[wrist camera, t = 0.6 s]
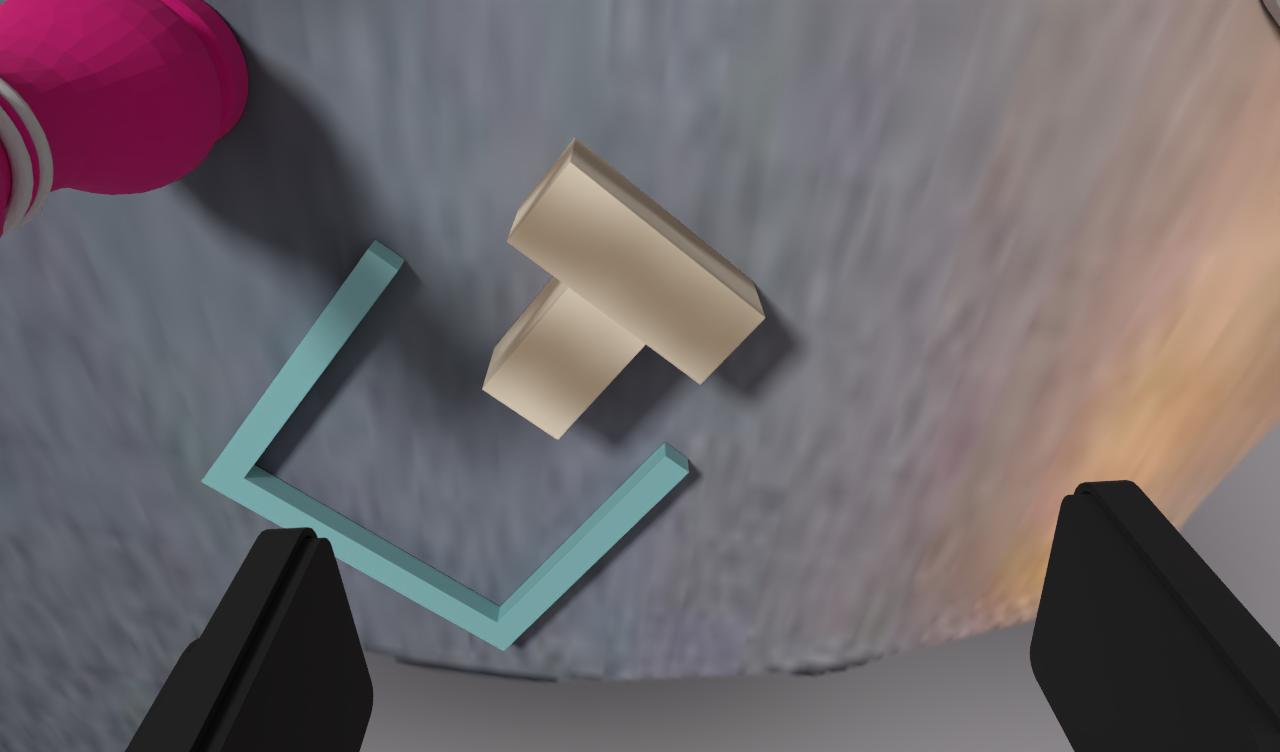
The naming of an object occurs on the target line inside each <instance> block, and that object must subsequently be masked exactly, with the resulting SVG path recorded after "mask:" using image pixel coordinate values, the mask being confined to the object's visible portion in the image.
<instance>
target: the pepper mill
mask: <svg viewBox="0 0 1280 752" xmlns="http://www.w3.org/2000/svg"><path fill="white" fill-rule="evenodd" d="M247 97H248V73H247V67H246V63H245V59H244V56H243V53H242V51H241V48H240V46H239V44H238V42H237V40H236V38H235V36H234V35H233V33H232V31H231V30H230V28H229V27H228V25H227V24H226V23H225V22H224V21H223V19H222V18H221V17H220V16H219V15H218V14H217V13H216V12H215V11H214V10H213V9H212V8H211V7H210V6H209V5H207V4H206V3H205V2H204V1H202V0H7V1H6V2H5V3H3V4H2V5H1V6H0V238H1V237H2V236H4V235H5V234H7V233H9V232H10V231H11V230H14V229H17V228H19V227H21V226H23V225H24V224H26V223H27V222H29V221H30V220H32V219H33V218H34V217H35V216H36V215H37V214H38V213H39V212H40V210H41V209H42V208H43V206H44V205H45V203H46V201H47V199H48V197H49V193H50V192H51V191H54V190H57V189H60V188H72V189H76V190H81V191H86V192H91V193H98V194H110V195H116V194H133V193H143V192H147V191H150V190H154V189H157V188H161V187H163V186H165V185H168V184H170V183H172V182H174V181H177V180H179V179H181V178H182V177H184V176H185V175H187V174H188V173H190V172H191V171H193V170H194V169H195V168H196V167H197V166H198V165H199V164H200V163H201V162H202V161H203V160H204V158H205V157H206V156H207V155H208V154H209V152H210V150H211V148H212V146H213V145H214V143H215V141H217V140H219V139H220V138H222V137H223V136H224V135H226V134H227V133H228V132H230V131H231V129H232V128H233V127H234V126H235V125H236V124H237V122H238V121H239V119H240V117H241V116H242V113H243V111H244V109H245V105H246V101H247Z"/></svg>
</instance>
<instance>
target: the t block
mask: <svg viewBox="0 0 1280 752" xmlns="http://www.w3.org/2000/svg"><path fill="white" fill-rule="evenodd" d="M507 242H508V243H510V244H511V245H512V246H514V247H515V248H516V249H518V250H519V251H520V252H522V253H523V254H524V255H526V256H527V257H528V258H530V259H531V260H533V261H534V262H535V263H537V264H538V265H539V266H541V267H542V268H543V269H545V270H546V271H547V272H549V273H550V274H551V275H553V276H554V277H553V278H552V279H551V280H550V281H549V283H548V284H547V285H546V286H545V287H544V289H543V290H542V291H541V292H540V293H539V295H538V296H537V297H536V298H535V299H534V301H533V302H532V303H531V304H530V305H529V307H528V308H527V309H526V310H525V311H524V313H523V314H522V315H521V316H520V317H519V319H518V320H517V321H516V322H515V323H514V324H513V326H512V327H511V328H510V329H509V330H508V332H507V333H506V334H505V335H504V336H503V338H502V339H501V340H500V341H499V342H498V344H497V345H496V346H495V347H494V351H493V354H492V358H491V361H490V364H489V368H488V371H487V374H486V378H485V381H484V385H483V388H482V390H484V391H485V392H487V393H488V394H490V395H491V396H493V397H494V398H496V399H497V400H499V401H500V402H502V403H503V404H505V405H506V406H508V407H509V408H511V409H512V410H514V411H515V412H517V413H518V414H520V415H521V416H523V417H524V418H526V419H527V420H529V421H530V422H532V423H533V424H535V425H536V426H538V427H539V428H541V429H542V430H544V431H545V432H547V433H548V434H550V435H551V436H553V437H554V438H556V439H557V440H558V439H559V438H560V437H561V436H562V435H563V434H564V433H565V432H566V430H567V429H568V428H569V427H570V426H571V425H572V424H573V423H574V422H575V421H576V420H577V419H578V417H579V416H580V415H581V414H582V413H583V412H584V411H585V410H586V409H587V408H588V407H589V406H590V404H591V403H592V402H593V401H594V400H595V399H596V398H597V397H598V396H599V395H600V394H601V393H602V391H603V390H604V389H605V388H606V387H607V386H608V385H609V384H610V383H611V382H612V381H613V379H614V378H615V377H616V376H617V375H618V374H619V373H620V372H621V371H622V370H623V369H624V368H625V366H626V365H627V364H628V363H629V362H630V361H631V360H632V359H633V358H634V357H635V356H636V355H637V353H638V352H639V351H640V350H641V349H642V348H643V347H644V346H645V345H647V346H649V347H650V348H651V349H653V350H654V351H656V352H657V353H658V354H660V355H661V356H662V357H664V358H665V359H666V360H668V361H669V362H670V363H672V364H673V365H674V366H676V367H677V368H678V369H680V370H681V371H683V372H684V373H685V374H687V375H688V376H689V377H691V378H692V379H693V380H695V381H696V382H697V383H699V384H701V383H702V382H703V381H704V380H705V379H706V378H707V377H708V376H709V375H710V374H711V373H712V372H713V371H714V370H715V369H716V368H717V367H718V366H719V365H720V364H721V363H722V362H723V361H724V360H725V359H726V358H727V357H728V356H729V355H730V354H731V353H732V352H733V351H734V350H735V349H736V348H737V347H738V346H739V345H740V344H741V343H742V342H743V340H744V339H745V338H746V337H747V336H748V335H749V334H750V333H751V332H752V331H753V330H754V329H755V328H756V327H757V326H758V325H759V324H760V323H761V322H762V321H763V320H764V319H765V315H764V312H763V309H762V306H761V303H760V300H759V297H758V294H757V291H756V288H755V286H754V283H753V281H752V280H751V279H750V278H749V277H747V276H746V275H745V274H744V273H742V272H741V271H740V270H739V269H737V268H736V267H735V266H734V265H733V264H731V263H730V262H729V261H728V260H726V259H725V258H724V257H723V256H721V255H720V254H719V253H718V252H716V251H715V250H714V249H713V248H712V247H710V246H709V245H708V244H707V243H705V242H704V241H703V240H702V239H700V238H699V237H698V236H697V235H696V234H694V233H693V232H692V231H691V230H689V229H688V228H687V227H686V226H684V225H683V224H682V223H681V222H679V221H678V220H677V219H676V218H675V217H673V216H672V215H671V214H670V213H668V212H667V211H666V210H665V209H663V208H662V207H661V206H660V205H659V204H657V203H656V202H655V201H654V200H652V199H651V198H650V197H649V196H647V195H646V194H645V193H644V192H642V191H641V190H640V189H639V188H638V187H636V186H635V185H634V184H633V183H631V182H630V181H629V180H628V179H626V178H625V177H624V176H623V175H622V174H620V173H619V172H618V171H617V170H615V169H614V168H613V167H612V166H610V165H609V164H608V163H607V162H605V161H604V160H603V159H602V158H601V157H599V156H598V155H597V154H596V153H594V152H593V151H592V150H591V149H589V148H588V147H587V146H586V145H585V144H583V143H582V142H581V141H580V140H578V139H577V138H576V137H575V138H574V140H573V141H572V142H571V143H570V145H569V146H568V147H567V148H566V150H565V151H564V152H563V153H562V155H561V156H560V157H559V159H558V160H557V161H556V162H555V164H554V165H553V166H552V167H551V169H550V170H549V171H548V173H547V174H546V175H545V176H544V178H543V179H542V180H541V181H540V183H539V184H538V185H537V187H536V188H535V189H534V190H533V192H532V193H531V194H530V195H529V197H528V198H527V199H526V201H525V202H524V203H523V204H522V206H521V207H520V208H519V209H518V212H517V215H516V217H515V220H514V223H513V226H512V229H511V232H510V234H509V237H508V240H507Z"/></svg>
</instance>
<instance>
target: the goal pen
mask: <svg viewBox="0 0 1280 752" xmlns="http://www.w3.org/2000/svg"><path fill="white" fill-rule="evenodd" d="M404 261H405V260H404V259H402V258H401V257H400V256H398V255H397V254H395V253H394V252H392V251H391V250H390V249H388V248H387V247H385V246H384V245H382V244H381V243H380V242H378V241H377V240H374V242H373V243H372V244H371V246H370V247H369V248H368V250H367V251H366V253H365V254H364V255H363V257H362V258H361V260H360V261H359V262H358V264H357V265H356V266H355V268H354V269H353V271H352V272H351V273H350V275H349V276H348V278H347V279H346V280H345V282H344V283H343V285H342V286H341V287H340V289H339V290H338V292H337V293H336V294H335V296H334V297H333V299H332V300H331V301H330V303H329V304H328V306H327V307H326V308H325V310H324V311H323V312H322V314H321V315H320V317H319V318H318V319H317V321H316V322H315V324H314V325H313V326H312V328H311V329H310V331H309V332H308V333H307V335H306V336H305V338H304V339H303V340H302V342H301V343H300V345H299V346H298V347H297V349H296V350H295V352H294V353H293V354H292V356H291V357H290V358H289V360H288V361H287V363H286V364H285V365H284V367H283V368H282V370H281V371H280V372H279V374H278V375H277V377H276V378H275V379H274V381H273V382H272V384H271V385H270V386H269V388H268V389H267V391H266V392H265V393H264V395H263V396H262V398H261V399H260V400H259V402H258V403H257V404H256V406H255V407H254V409H253V410H252V411H251V413H250V414H249V416H248V417H247V418H246V420H245V421H244V423H243V424H242V425H241V427H240V428H239V430H238V431H237V432H236V434H235V435H234V437H233V438H232V439H231V441H230V442H229V444H228V445H227V446H226V448H225V449H224V450H223V452H222V453H221V455H220V456H219V457H218V459H217V460H216V462H215V463H214V464H213V466H212V467H211V469H210V470H209V471H208V473H207V474H206V476H205V477H204V478H203V480H202V481H201V482H202V483H204V484H206V485H208V486H210V487H211V488H213V489H215V490H217V491H219V492H220V493H222V494H224V495H226V496H227V497H229V498H231V499H233V500H235V501H236V502H238V503H240V504H242V505H244V506H245V507H247V508H249V509H251V510H252V511H254V512H256V513H258V514H260V515H261V516H263V517H265V518H267V519H269V520H270V521H272V522H274V523H276V524H277V525H279V526H281V527H283V528H301V527H309V528H312V529H313V530H314V531H315V532H316V535H317V537H318V538H327V539H328V540H329V541H330V543H331V545H332V548H333V552H334V555H335V557H336V558H338V559H340V560H342V561H344V562H345V563H347V564H349V565H351V566H353V567H354V568H356V569H358V570H360V571H362V572H363V573H365V574H367V575H369V576H370V577H372V578H374V579H376V580H378V581H379V582H381V583H383V584H385V585H387V586H388V587H390V588H392V589H394V590H395V591H397V592H399V593H401V594H403V595H404V596H406V597H408V598H410V599H412V600H413V601H415V602H417V603H419V604H421V605H422V606H424V607H426V608H428V609H429V610H431V611H433V612H435V613H437V614H438V615H440V616H442V617H444V618H446V619H447V620H449V621H451V622H453V623H454V624H456V625H458V626H460V627H462V628H463V629H465V630H467V631H469V632H471V633H472V634H474V635H476V636H478V637H479V638H481V639H483V640H485V641H487V642H488V643H490V644H492V645H494V646H496V647H497V648H499V649H501V650H503V651H504V650H505V649H506V648H507V647H508V646H510V645H511V644H512V643H513V642H514V641H515V640H516V639H517V638H518V637H519V636H520V635H521V634H522V633H523V632H524V631H525V630H526V629H527V628H528V627H529V626H530V625H531V624H532V623H533V622H534V621H535V620H536V619H538V618H539V617H540V616H541V615H542V614H543V613H544V612H545V611H546V610H547V609H548V608H549V607H550V606H551V605H552V604H553V603H554V602H555V601H556V600H557V599H558V598H559V597H560V596H561V595H562V594H563V593H564V592H566V591H567V590H568V589H569V588H570V587H571V586H572V585H573V584H574V583H575V582H576V581H577V580H578V579H579V578H580V577H581V576H582V575H583V574H584V573H585V572H586V571H587V570H588V569H589V568H590V567H591V566H592V565H593V564H595V563H596V562H597V561H598V560H599V559H600V558H601V557H602V556H603V555H604V554H605V553H606V552H607V551H608V550H609V549H610V548H611V547H612V546H613V545H614V544H615V543H616V542H617V541H618V540H619V539H620V538H621V537H623V536H624V535H625V534H626V533H627V532H628V531H629V530H630V529H631V528H632V527H633V526H634V525H635V524H636V523H637V522H638V521H639V520H640V519H641V518H642V517H643V516H644V515H645V514H646V513H647V512H648V511H649V510H651V509H652V508H653V507H654V506H655V505H656V504H657V503H658V502H659V501H660V500H661V499H662V498H663V497H664V496H665V495H666V494H667V493H668V492H669V491H670V490H671V489H672V488H673V487H674V486H675V485H676V484H677V483H678V482H680V481H681V480H682V479H683V478H684V477H685V476H686V475H687V474H688V473H689V467H688V458H686V457H685V456H684V455H682V454H681V453H679V452H678V451H676V450H675V449H674V448H672V447H671V446H669V445H668V444H666V443H664V444H663V445H662V446H661V447H660V448H659V449H658V450H657V451H656V452H655V453H654V454H653V455H652V456H651V457H650V458H649V459H648V460H647V461H646V462H645V463H644V464H643V465H642V466H641V467H640V468H639V469H638V470H637V471H636V472H635V473H634V474H633V475H632V476H631V477H630V478H629V479H628V480H627V481H626V482H625V483H624V484H623V485H622V486H621V487H620V488H619V489H618V490H617V491H616V492H615V493H614V494H613V495H612V496H611V497H610V498H609V499H608V500H607V501H606V502H605V503H604V504H603V505H602V506H601V507H600V508H599V509H598V510H597V511H596V512H595V513H594V514H593V515H592V516H591V517H590V518H589V519H588V520H587V521H586V522H585V523H584V524H583V525H582V526H581V527H580V528H579V529H578V530H577V531H576V532H575V533H574V534H573V535H572V536H571V537H570V538H569V539H568V540H567V541H566V542H565V543H564V544H563V545H562V546H561V547H560V548H559V549H558V550H557V551H556V552H555V553H554V554H553V555H552V556H551V557H550V558H549V559H548V560H547V561H546V562H545V563H544V564H543V565H542V566H541V567H540V568H539V569H538V570H537V571H536V572H535V573H534V574H533V575H532V576H531V577H530V578H529V579H528V580H527V581H526V582H525V583H524V584H523V585H522V586H521V587H520V588H519V589H518V590H517V591H516V592H515V593H514V594H513V595H512V596H511V597H510V598H509V599H508V600H507V601H506V602H505V603H504V604H503V605H502V606H501V607H499V606H498V605H496V604H494V603H493V602H491V601H489V600H487V599H486V598H484V597H482V596H480V595H479V594H477V593H475V592H474V591H472V590H470V589H468V588H467V587H465V586H463V585H461V584H460V583H458V582H456V581H454V580H453V579H451V578H449V577H448V576H446V575H444V574H442V573H441V572H439V571H437V570H435V569H434V568H432V567H430V566H429V565H427V564H425V563H423V562H422V561H420V560H418V559H416V558H415V557H413V556H411V555H409V554H408V553H406V552H404V551H403V550H401V549H399V548H397V547H396V546H394V545H392V544H390V543H389V542H387V541H385V540H384V539H382V538H380V537H378V536H377V535H375V534H373V533H371V532H370V531H368V530H366V529H364V528H363V527H361V526H359V525H358V524H356V523H354V522H352V521H351V520H349V519H347V518H345V517H344V516H342V515H340V514H339V513H337V512H335V511H333V510H332V509H330V508H328V507H326V506H325V505H323V504H321V503H320V502H318V501H316V500H314V499H313V498H311V497H309V496H307V495H306V494H304V493H302V492H300V491H299V490H297V489H295V488H294V487H292V486H290V485H288V484H287V483H285V482H283V481H281V480H280V479H278V478H276V477H275V476H273V475H271V474H269V473H268V472H266V471H264V470H262V469H261V468H259V467H257V466H255V465H254V464H255V462H256V461H257V460H258V458H259V457H260V456H261V454H262V453H263V452H264V450H265V449H266V448H267V446H268V445H269V444H270V442H271V441H272V440H273V438H274V437H275V436H276V434H277V433H278V431H279V430H280V429H281V427H282V426H283V425H284V423H285V422H286V421H287V419H288V418H289V417H290V415H291V414H292V413H293V411H294V410H295V409H296V407H297V406H298V405H299V403H300V402H301V401H302V399H303V398H304V397H305V395H306V394H307V393H308V391H309V390H310V388H311V387H312V386H313V384H314V383H315V382H316V380H317V379H318V378H319V376H320V375H321V374H322V372H323V371H324V370H325V368H326V367H327V366H328V364H329V363H330V362H331V360H332V359H333V358H334V356H335V355H336V354H337V352H338V351H339V350H340V348H341V347H342V345H343V344H344V343H345V341H346V340H347V339H348V337H349V336H350V335H351V333H352V332H353V331H354V329H355V328H356V327H357V325H358V324H359V323H360V321H361V320H362V319H363V317H364V316H365V315H366V313H367V312H368V311H369V309H370V308H371V307H372V305H373V304H374V302H375V301H376V300H377V298H378V297H379V296H380V294H381V293H382V292H383V290H384V289H385V288H386V286H387V285H388V284H389V282H390V281H391V280H392V278H393V277H394V276H395V274H396V273H397V272H398V270H399V269H400V267H401V265H402V264H403V262H404Z"/></svg>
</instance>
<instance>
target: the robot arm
mask: <svg viewBox="0 0 1280 752" xmlns="http://www.w3.org/2000/svg"><path fill="white" fill-rule="evenodd" d="M1263 2H1264V5H1265V6H1266V7H1267V9H1268V10H1269V12H1270V13H1271V15H1272V16H1273V18H1274V19H1275V21H1276V22H1277V23H1278V25H1279V26H1280V0H1263ZM1030 661H1031V666H1032V669H1033V673H1034V675H1035V678H1036V680H1037V682H1038V683H1039V686H1040V687H1041V689H1042V691H1043V693H1044V695H1045V697H1046V698H1047V700H1048V702H1049V704H1050V706H1051V708H1052V710H1053V712H1054V714H1055V716H1056V718H1057V719H1058V721H1059V723H1060V725H1061V727H1062V729H1063V731H1064V732H1065V734H1066V736H1067V738H1068V740H1069V742H1070V744H1071V746H1072V748H1073V749H1074V751H1075V752H1280V647H1279V646H1278V644H1277V643H1276V642H1275V641H1274V640H1273V639H1272V638H1271V636H1270V635H1269V634H1268V633H1267V632H1266V631H1265V630H1264V628H1263V627H1262V626H1261V625H1260V624H1259V623H1258V622H1257V621H1256V619H1255V618H1254V617H1253V616H1252V615H1251V614H1250V613H1249V612H1248V610H1247V609H1246V608H1245V607H1244V606H1243V605H1242V604H1241V602H1240V601H1238V599H1237V598H1236V597H1235V596H1234V594H1233V593H1232V592H1231V591H1230V590H1229V589H1228V588H1227V587H1226V585H1225V584H1224V583H1223V582H1222V581H1221V580H1220V579H1219V578H1218V576H1217V575H1216V574H1215V573H1214V572H1213V571H1212V569H1210V567H1209V566H1208V565H1207V564H1206V563H1205V562H1204V560H1203V559H1202V558H1201V557H1200V556H1199V555H1198V554H1197V553H1196V551H1195V550H1194V549H1193V548H1192V547H1191V546H1190V545H1189V543H1188V542H1187V541H1186V540H1185V539H1184V538H1183V537H1182V535H1181V534H1180V533H1179V532H1178V531H1177V530H1176V529H1175V527H1174V526H1173V525H1172V524H1171V523H1170V522H1169V521H1168V520H1167V518H1166V517H1165V516H1164V515H1163V514H1162V513H1161V512H1160V510H1159V509H1158V508H1157V507H1156V506H1155V505H1154V504H1153V503H1152V501H1151V500H1150V499H1149V498H1148V497H1147V496H1146V495H1145V493H1144V492H1143V491H1142V490H1141V489H1140V488H1139V487H1138V486H1137V485H1136V484H1135V483H1134V482H1132V481H1128V480H1119V481H1101V482H1084V483H1081V484H1079V486H1078V487H1077V488H1076V490H1075V492H1074V495H1067V496H1065V497H1064V499H1063V500H1062V503H1061V507H1060V511H1059V516H1058V521H1057V525H1056V530H1055V535H1054V539H1053V544H1052V548H1051V553H1050V558H1049V562H1048V567H1047V572H1046V576H1045V581H1044V586H1043V590H1042V595H1041V599H1040V604H1039V609H1038V613H1037V618H1036V623H1035V627H1034V632H1033V637H1032V641H1031V646H1030ZM372 706H373V687H372V682H371V679H370V675H369V672H368V668H367V665H366V662H365V658H364V654H363V651H362V648H361V644H360V641H359V637H358V634H357V630H356V627H355V624H354V620H353V617H352V613H351V610H350V606H349V603H348V600H347V596H346V593H345V589H344V586H343V582H342V579H341V576H340V572H339V569H338V565H337V562H336V558H335V555H334V552H333V548H332V545H331V543H330V541H329V540H328V539H327V538H318V537H317V535H316V532H315V531H314V530H313V529H312V528H309V527H301V528H284V529H267V530H265V531H262V532H261V534H260V535H259V536H258V537H257V539H256V541H255V543H254V544H253V546H252V548H251V550H250V551H249V553H248V555H247V557H246V558H245V560H244V562H243V564H242V565H241V567H240V569H239V571H238V572H237V574H236V576H235V578H234V579H233V581H232V583H231V584H230V586H229V588H228V590H227V591H226V593H225V595H224V597H223V598H222V600H221V602H220V604H219V605H218V607H217V609H216V611H215V612H214V614H213V616H212V618H211V619H210V621H209V623H208V625H207V626H206V628H205V630H204V631H203V633H202V635H201V637H200V638H198V639H197V640H195V641H193V642H192V643H190V644H189V646H188V647H187V648H186V650H185V651H184V652H183V653H182V655H181V657H180V658H179V660H178V662H177V664H176V665H175V667H174V669H173V670H172V672H171V674H170V675H169V677H168V679H167V681H166V682H165V684H164V686H163V687H162V689H161V691H160V693H159V694H158V696H157V698H156V699H155V701H154V703H153V704H152V706H151V708H150V710H149V711H148V713H147V715H146V716H145V718H144V720H143V722H142V723H141V725H140V727H139V728H138V730H137V732H136V733H135V735H134V737H133V739H132V740H131V742H130V744H129V745H128V747H127V749H126V751H125V752H359V751H360V748H361V745H362V742H363V738H364V735H365V732H366V728H367V725H368V722H369V719H370V715H371V711H372Z"/></svg>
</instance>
